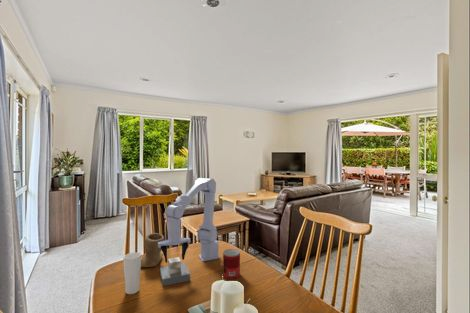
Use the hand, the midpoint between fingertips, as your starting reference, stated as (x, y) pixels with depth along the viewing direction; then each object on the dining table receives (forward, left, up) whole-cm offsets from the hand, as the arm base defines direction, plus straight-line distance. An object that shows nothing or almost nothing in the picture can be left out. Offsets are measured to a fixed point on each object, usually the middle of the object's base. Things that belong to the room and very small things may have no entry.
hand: (174, 260), depth 111 cm
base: (0, 0, -8) cm, 8 cm away
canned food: (-25, +9, -8) cm, 28 cm away
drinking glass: (+18, +5, -8) cm, 20 cm away
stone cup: (+8, -20, -8) cm, 23 cm away
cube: (0, 0, -5) cm, 5 cm away
